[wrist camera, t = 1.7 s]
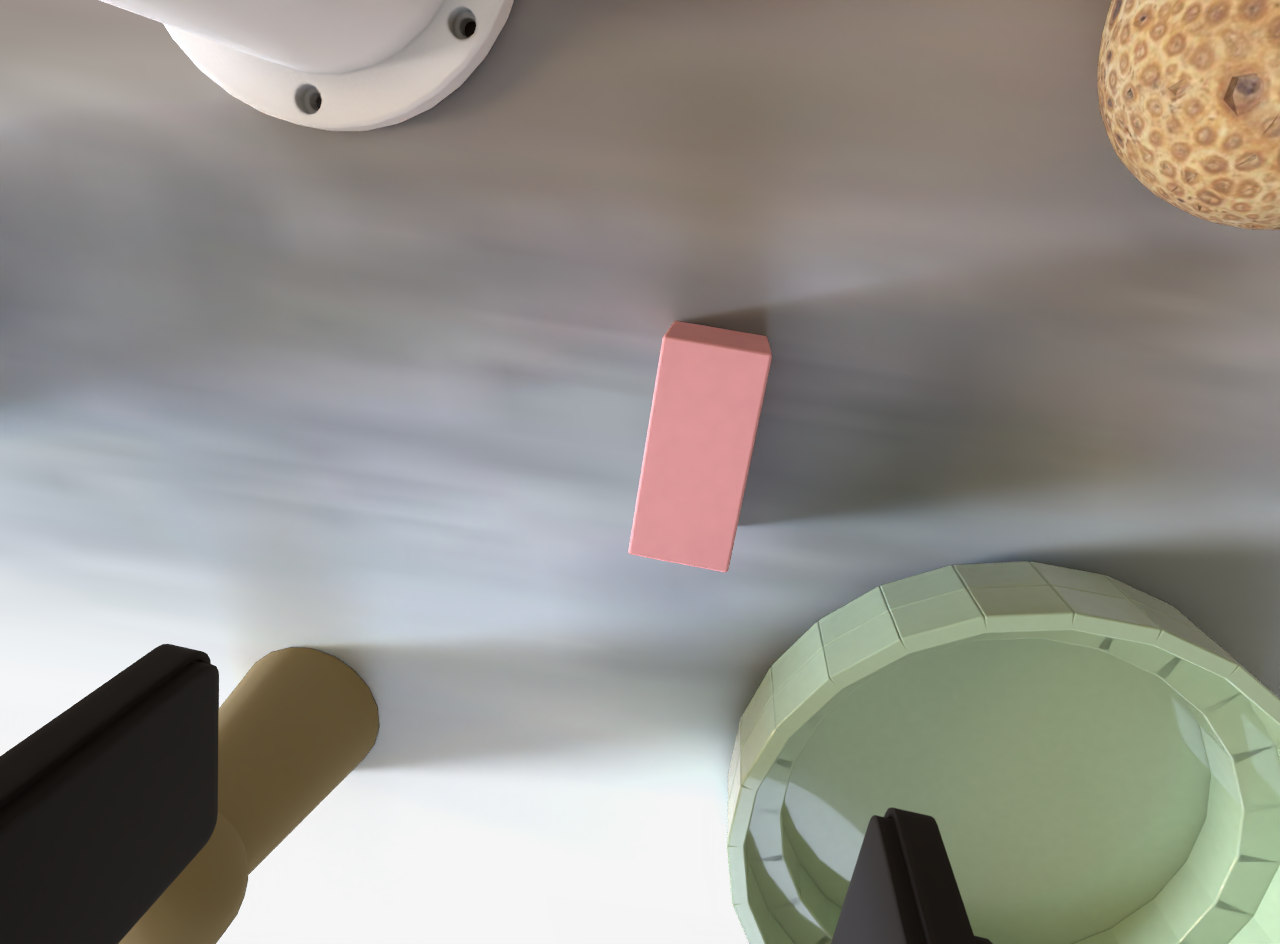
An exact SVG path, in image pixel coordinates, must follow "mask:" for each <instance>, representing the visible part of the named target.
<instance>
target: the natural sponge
mask: <svg viewBox="0 0 1280 944" xmlns="http://www.w3.org/2000/svg"><path fill="white" fill-rule="evenodd" d="M1097 82H1098V93H1099V106H1100V112H1101V116H1102V119H1103V122H1104V125H1105V128H1106V131H1107V134H1108V137H1109V140H1110V142H1111V144H1112V146H1113V148H1114V150H1115V152H1116V154H1117V155H1118V157H1119V158H1120V160H1121V161H1122V162H1123V164H1124V165H1125V166H1126V167H1127V168H1128V170H1129V171H1130V172H1131V173H1132V174H1134V175H1135V176H1136V177H1137V178H1138V180H1139V181H1140V182H1141V183H1142V184H1143V185H1144V186H1145V187H1147V188H1148V189H1149V190H1150V191H1152V192H1153V193H1154V194H1155V195H1157V196H1158V197H1160V198H1161V199H1163V200H1165V201H1167V202H1168V203H1170V204H1172V205H1174V206H1176V207H1178V208H1180V209H1182V210H1184V211H1186V212H1188V213H1189V214H1191V215H1193V216H1196V217H1199V218H1202V219H1205V220H1208V221H1211V222H1214V223H1218V224H1223V225H1229V226H1234V227H1239V228H1244V229H1263V230H1280V0H1112V2H1111V5H1110V8H1109V12H1108V15H1107V19H1106V23H1105V26H1104V30H1103V34H1102V40H1101V47H1100V55H1099V63H1098V79H1097Z"/></svg>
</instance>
